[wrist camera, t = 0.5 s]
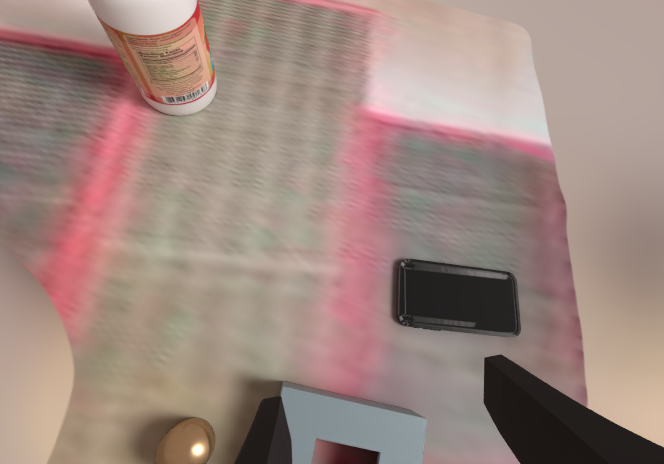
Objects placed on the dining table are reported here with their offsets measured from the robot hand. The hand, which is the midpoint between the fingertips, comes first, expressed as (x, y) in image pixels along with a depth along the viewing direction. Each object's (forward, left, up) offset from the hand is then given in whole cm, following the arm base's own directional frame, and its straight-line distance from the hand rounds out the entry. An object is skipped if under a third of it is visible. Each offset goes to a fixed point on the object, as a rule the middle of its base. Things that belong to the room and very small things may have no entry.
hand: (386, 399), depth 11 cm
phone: (+10, -15, -26) cm, 32 cm away
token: (-10, +10, -25) cm, 29 cm away
